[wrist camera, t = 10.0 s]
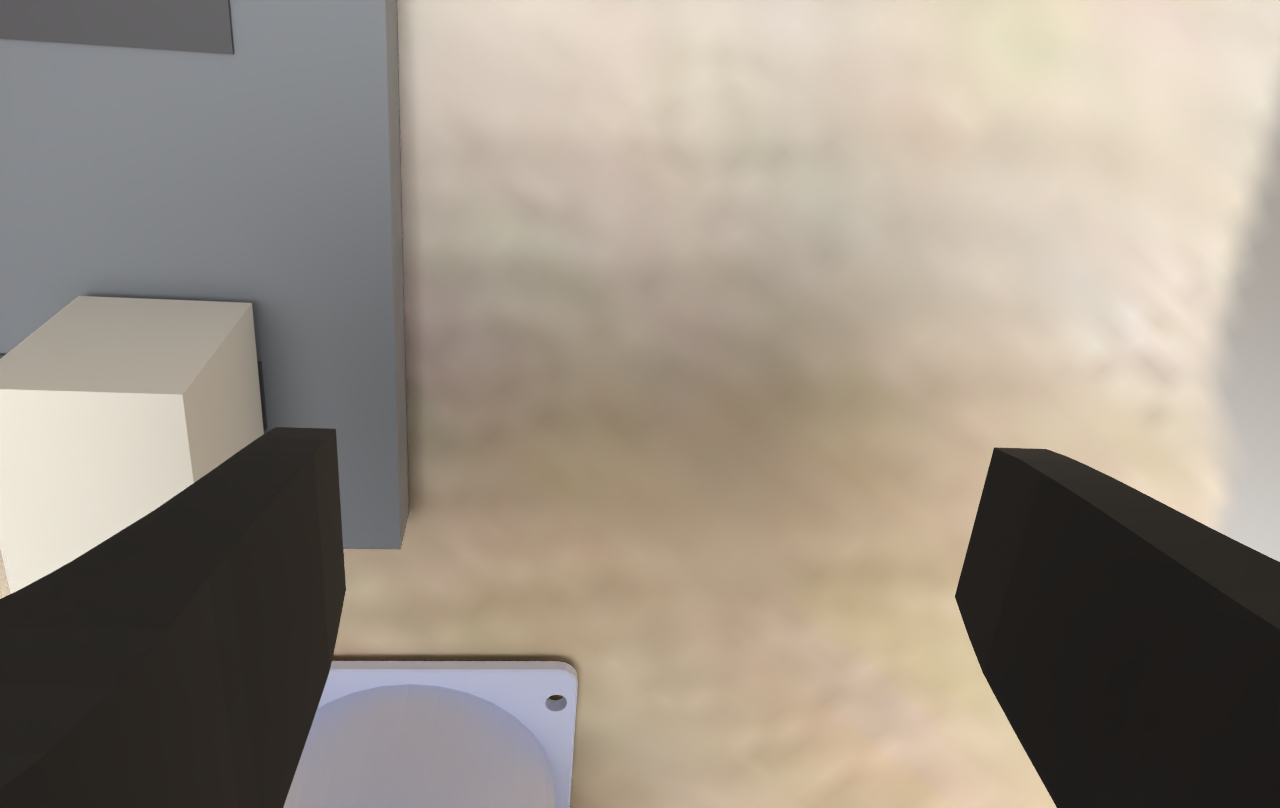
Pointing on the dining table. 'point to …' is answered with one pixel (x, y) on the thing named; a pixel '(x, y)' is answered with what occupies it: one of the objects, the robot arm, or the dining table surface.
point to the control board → (223, 198)
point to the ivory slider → (117, 419)
